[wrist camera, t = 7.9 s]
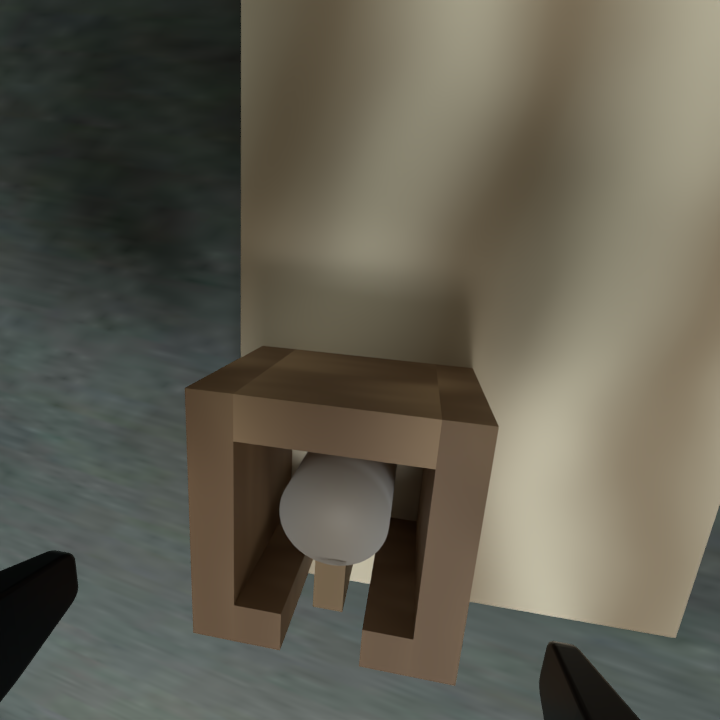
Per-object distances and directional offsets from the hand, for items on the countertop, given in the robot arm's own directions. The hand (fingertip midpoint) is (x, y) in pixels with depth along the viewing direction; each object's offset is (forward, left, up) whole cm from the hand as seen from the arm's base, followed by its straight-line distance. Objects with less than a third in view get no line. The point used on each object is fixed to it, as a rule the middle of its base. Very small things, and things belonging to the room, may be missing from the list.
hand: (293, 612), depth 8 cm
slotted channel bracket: (0, 0, -6) cm, 6 cm away
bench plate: (-4, -5, -8) cm, 10 cm away
